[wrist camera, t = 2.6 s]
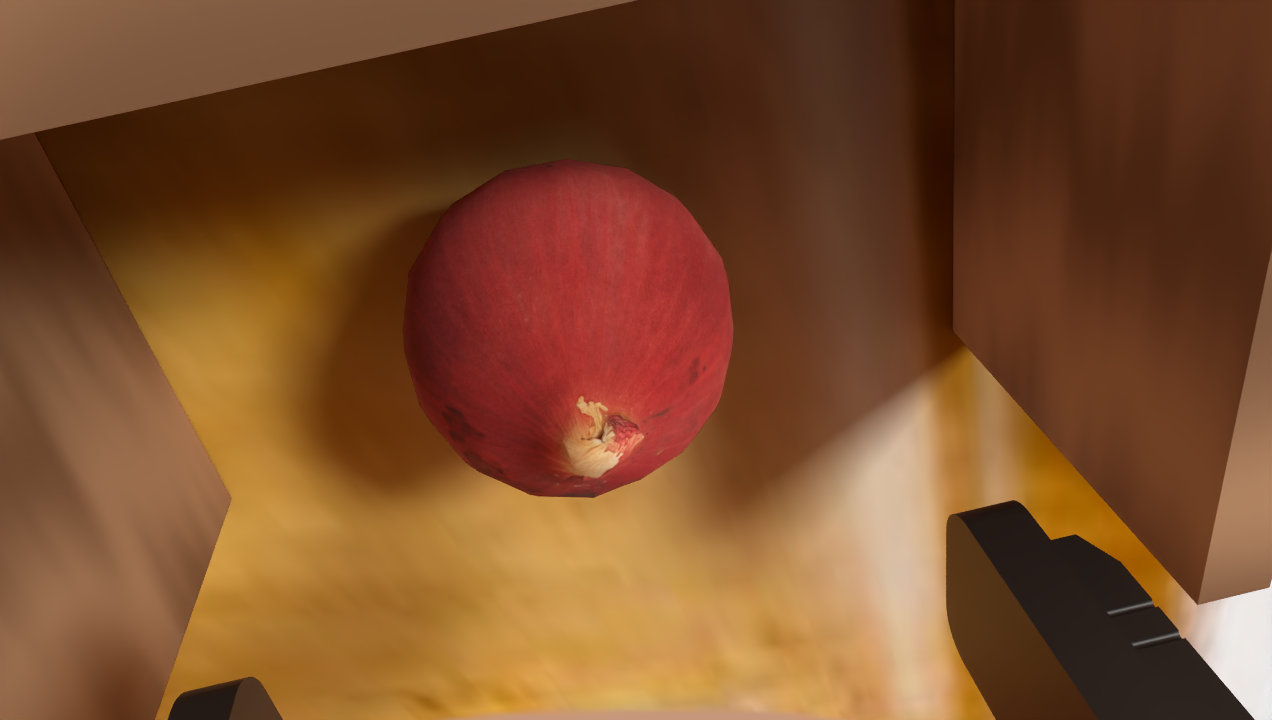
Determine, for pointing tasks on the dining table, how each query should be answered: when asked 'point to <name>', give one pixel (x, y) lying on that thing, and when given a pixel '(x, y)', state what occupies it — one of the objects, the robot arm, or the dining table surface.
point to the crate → (982, 292)
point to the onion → (568, 328)
